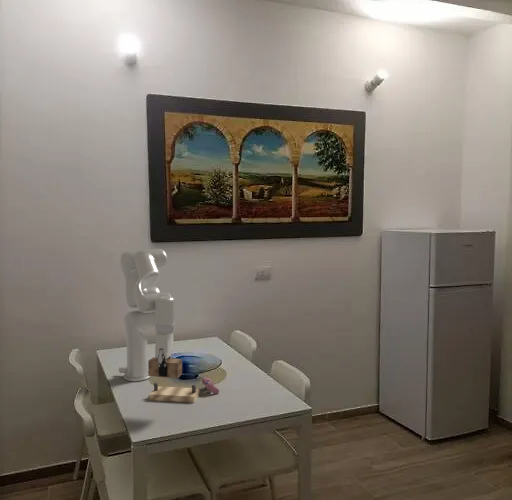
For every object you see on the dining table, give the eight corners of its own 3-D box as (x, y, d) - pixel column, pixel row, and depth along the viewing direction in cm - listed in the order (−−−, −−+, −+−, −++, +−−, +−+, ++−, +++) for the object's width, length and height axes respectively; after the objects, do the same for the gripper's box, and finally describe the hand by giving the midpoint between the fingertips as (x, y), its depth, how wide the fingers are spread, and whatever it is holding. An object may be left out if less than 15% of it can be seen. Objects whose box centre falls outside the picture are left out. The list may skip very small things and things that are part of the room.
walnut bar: (148, 375, 187) (148, 361, 186) (153, 371, 192) (153, 357, 191) (177, 378, 185) (177, 363, 184) (182, 373, 190) (182, 359, 189)
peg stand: (149, 400, 199) (149, 387, 198) (156, 391, 208) (156, 379, 207) (194, 402, 197) (194, 389, 196) (199, 393, 206) (199, 381, 205)
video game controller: (205, 390, 214) (198, 377, 212) (214, 384, 215) (207, 372, 214) (211, 398, 205) (204, 385, 203) (220, 392, 206) (213, 379, 205)
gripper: (162, 322, 195) (162, 365, 197) (148, 333, 179) (149, 380, 180) (180, 323, 195) (180, 366, 196) (168, 334, 178) (168, 381, 180)
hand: (165, 372), depth 188 cm, fingers closed on walnut bar, 5 cm apart
